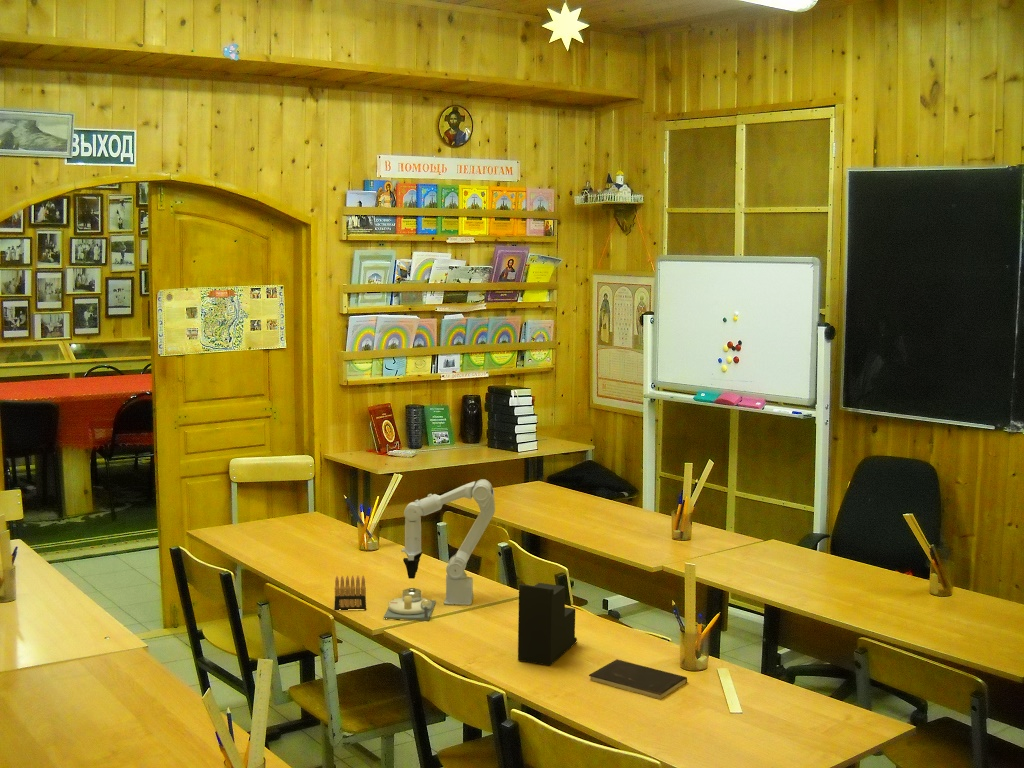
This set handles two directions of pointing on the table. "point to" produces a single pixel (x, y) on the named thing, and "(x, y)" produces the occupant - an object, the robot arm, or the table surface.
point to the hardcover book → (638, 678)
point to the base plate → (417, 617)
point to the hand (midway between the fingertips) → (412, 575)
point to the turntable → (406, 606)
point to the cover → (413, 594)
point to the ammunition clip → (350, 594)
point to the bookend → (544, 623)
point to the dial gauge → (426, 607)
